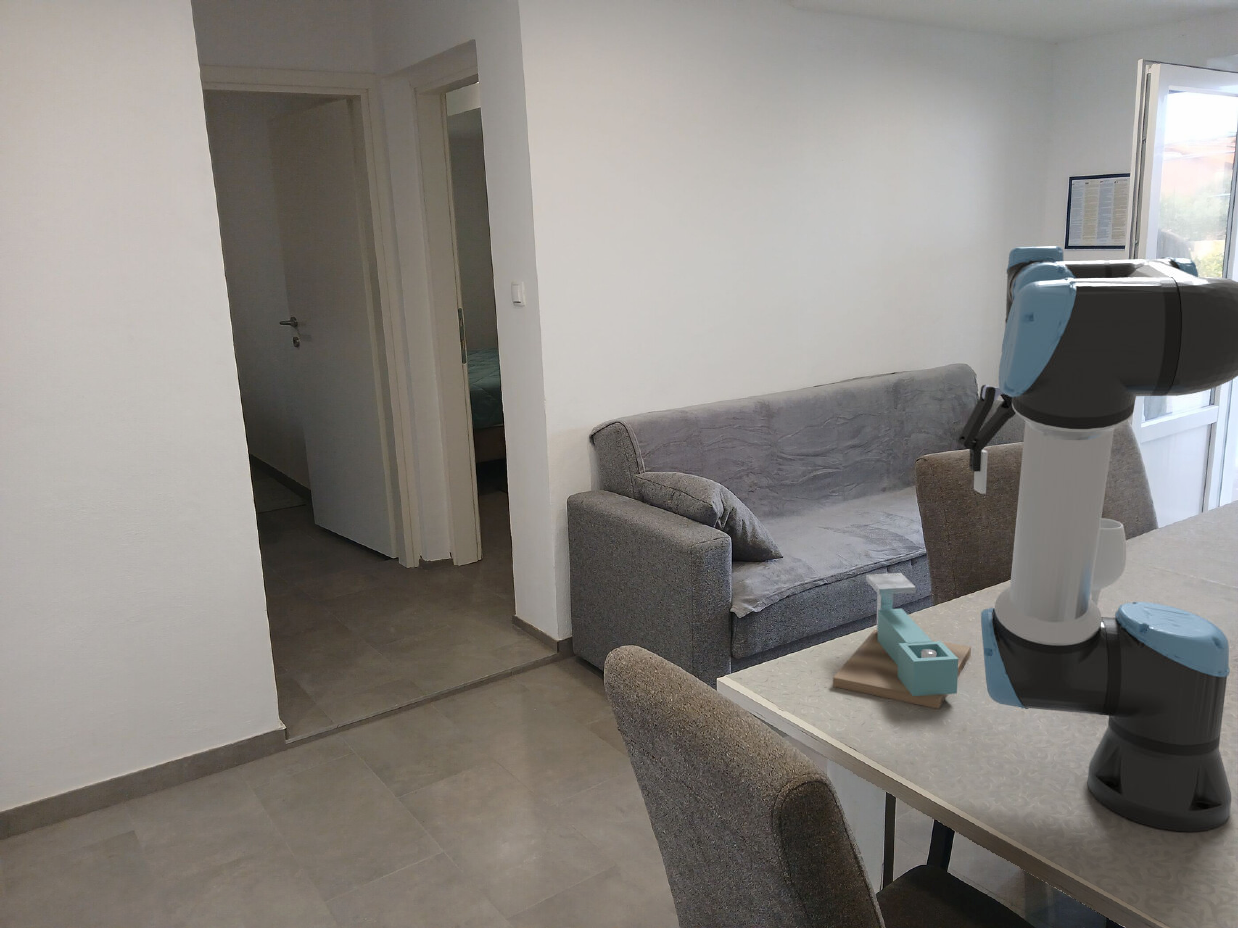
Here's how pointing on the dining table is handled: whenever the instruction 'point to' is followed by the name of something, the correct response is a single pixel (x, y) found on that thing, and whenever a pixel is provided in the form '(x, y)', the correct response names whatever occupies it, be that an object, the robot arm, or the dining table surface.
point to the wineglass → (1108, 556)
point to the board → (887, 673)
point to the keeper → (889, 588)
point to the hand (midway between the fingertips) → (1022, 489)
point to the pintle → (928, 653)
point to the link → (916, 655)
